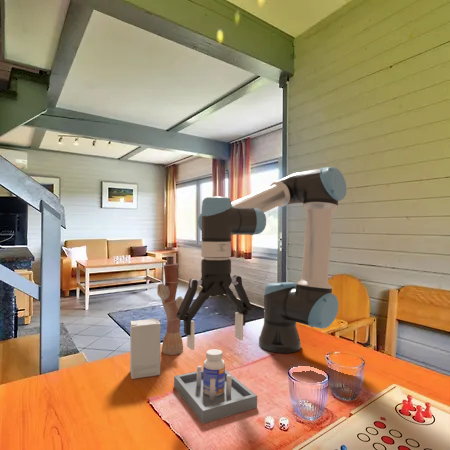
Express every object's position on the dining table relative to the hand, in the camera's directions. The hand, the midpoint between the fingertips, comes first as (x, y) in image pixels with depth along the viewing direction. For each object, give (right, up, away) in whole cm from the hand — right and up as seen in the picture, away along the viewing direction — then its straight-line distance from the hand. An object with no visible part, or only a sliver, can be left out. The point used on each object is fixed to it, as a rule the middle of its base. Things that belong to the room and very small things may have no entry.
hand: (215, 343), depth 77 cm
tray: (-1, -13, -1) cm, 13 cm away
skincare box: (-21, -13, +11) cm, 27 cm away
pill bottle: (-1, -12, -1) cm, 12 cm away
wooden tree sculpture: (-17, -14, +28) cm, 35 cm away
